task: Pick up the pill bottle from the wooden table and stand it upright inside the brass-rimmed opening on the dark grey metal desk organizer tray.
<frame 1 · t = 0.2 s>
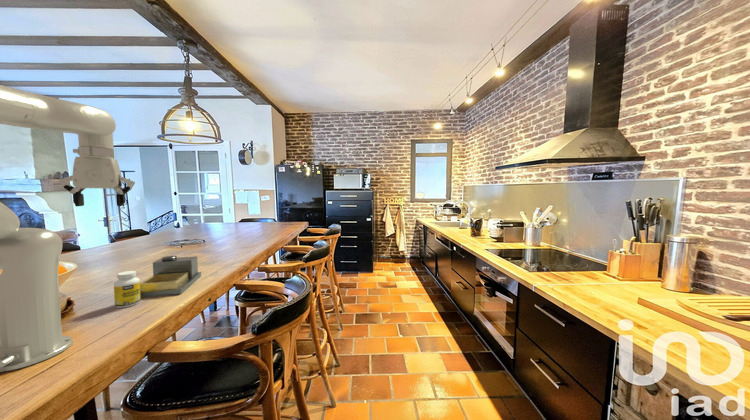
hand: (100, 205, 80), 36 cm above the table, tool pointing down, fingers open, 9 cm apart
desk organizer tray: (170, 286, 104), on the table
pill bottle: (128, 304, 87), on the table
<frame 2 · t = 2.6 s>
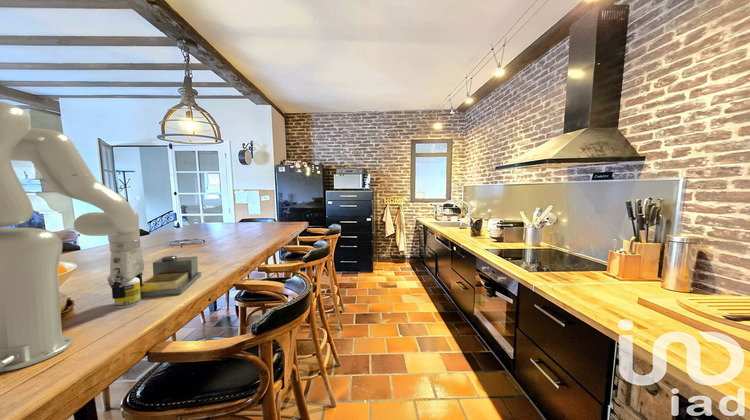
hand: (128, 292, 87), 4 cm above the table, tool pointing down, fingers open, 9 cm apart
nothing on the table moved.
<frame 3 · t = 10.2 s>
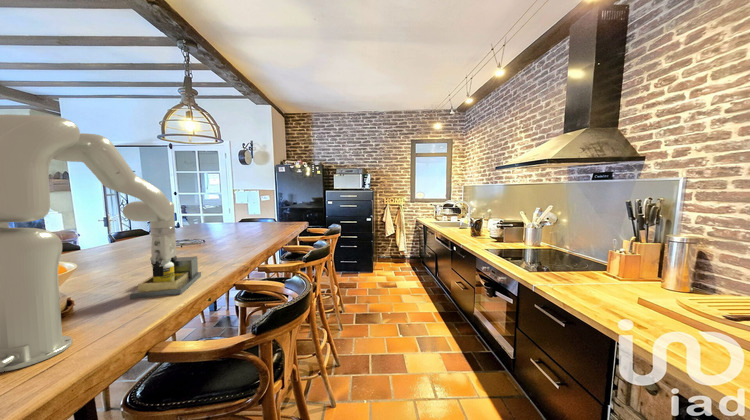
hand: (164, 272, 99), 7 cm above the table, tool pointing down, fingers open, 9 cm apart
pill bottle: (164, 285, 100), point 2 cm above the table, touching desk organizer tray
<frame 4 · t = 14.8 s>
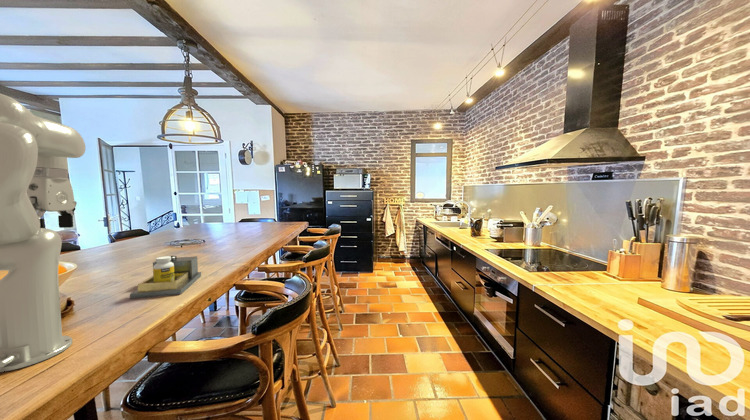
hand: (52, 229, 75), 28 cm above the table, tool pointing down, fingers open, 9 cm apart
nothing on the table moved.
at the end: pill bottle inside the target area on the desk organizer tray (0.2 cm from its centre), point 1.8 cm above the desk organizer tray's base; pill bottle tilted 0°; the gripper is holding nothing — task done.
